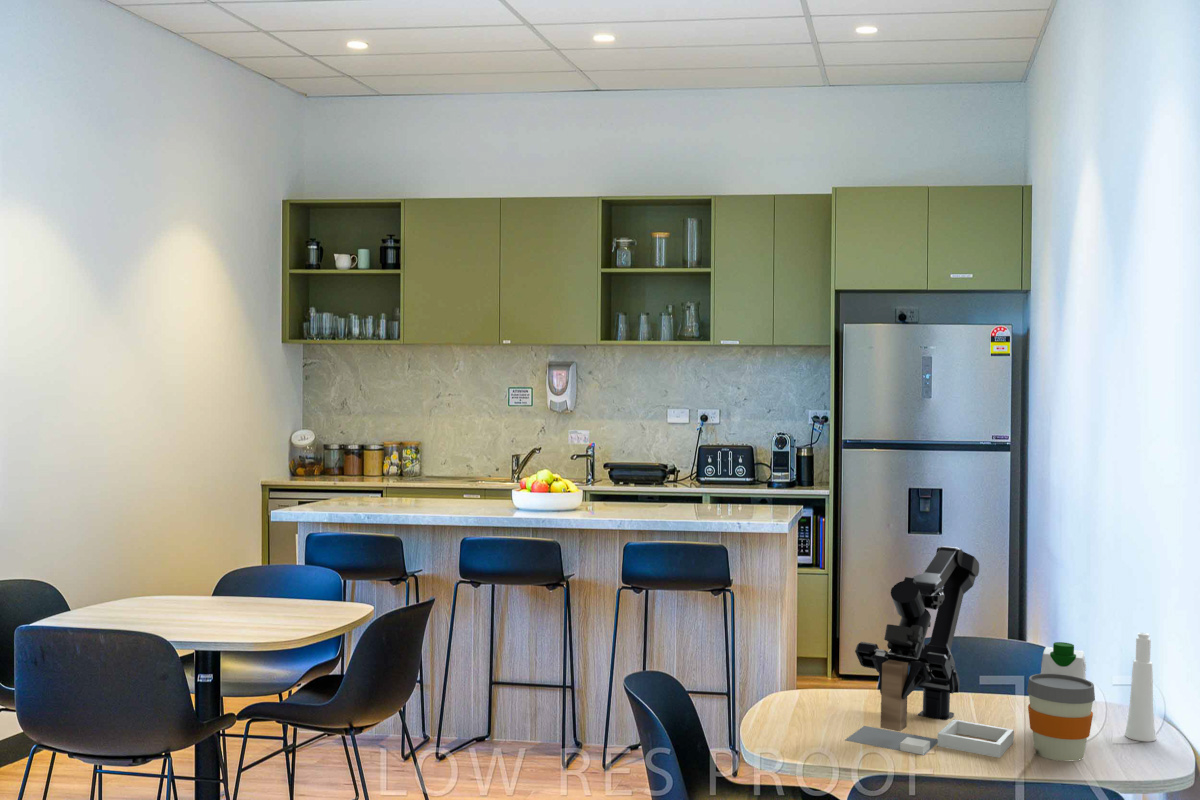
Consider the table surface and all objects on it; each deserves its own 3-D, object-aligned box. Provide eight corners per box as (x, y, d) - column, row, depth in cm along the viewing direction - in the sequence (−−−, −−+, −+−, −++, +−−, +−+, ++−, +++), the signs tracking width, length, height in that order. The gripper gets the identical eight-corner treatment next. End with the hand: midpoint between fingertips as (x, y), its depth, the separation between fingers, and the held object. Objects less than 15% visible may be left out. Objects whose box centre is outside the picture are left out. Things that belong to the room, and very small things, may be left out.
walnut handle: (887, 723, 234) (889, 659, 233) (906, 726, 231) (908, 662, 231) (880, 727, 230) (882, 663, 230) (899, 731, 228) (901, 666, 228)
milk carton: (1037, 739, 238) (1040, 644, 238) (1040, 728, 247) (1043, 635, 246) (1083, 746, 235) (1086, 649, 234) (1084, 734, 243) (1087, 640, 243)
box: (953, 738, 238) (953, 719, 238) (1013, 749, 231) (1013, 729, 231) (937, 753, 227) (937, 733, 227) (999, 765, 221) (1000, 744, 221)
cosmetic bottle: (1135, 731, 246) (1138, 629, 246) (1162, 739, 241) (1165, 635, 241) (1118, 735, 243) (1121, 632, 242) (1145, 743, 238) (1149, 638, 237)
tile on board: (907, 744, 228) (907, 736, 228) (929, 748, 226) (929, 741, 226) (900, 750, 224) (900, 742, 224) (923, 754, 222) (923, 747, 222)
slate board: (864, 732, 240) (864, 725, 240) (940, 747, 232) (941, 739, 232) (844, 747, 230) (844, 739, 230) (923, 763, 221) (924, 755, 221)
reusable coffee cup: (1097, 753, 230) (1099, 679, 230) (1088, 771, 219) (1090, 693, 219) (1031, 742, 236) (1033, 670, 236) (1019, 758, 225) (1022, 683, 225)
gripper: (859, 603, 239) (837, 666, 230) (948, 615, 228) (929, 681, 219) (872, 634, 246) (851, 696, 237) (959, 647, 235) (941, 712, 226)
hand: (892, 696), depth 230 cm, fingers closed on walnut handle, 4 cm apart
